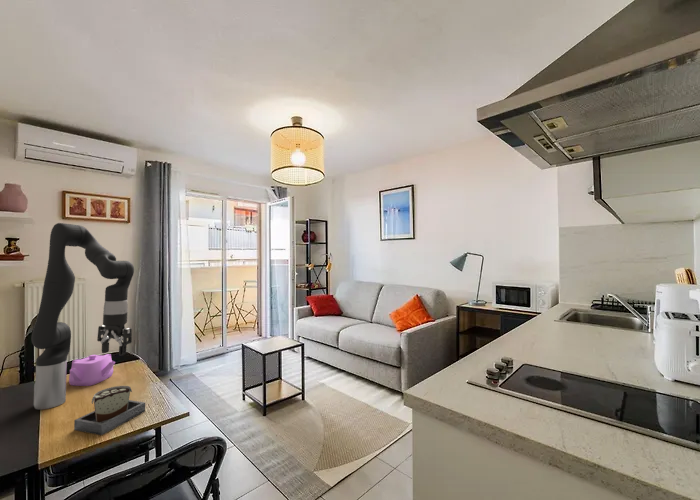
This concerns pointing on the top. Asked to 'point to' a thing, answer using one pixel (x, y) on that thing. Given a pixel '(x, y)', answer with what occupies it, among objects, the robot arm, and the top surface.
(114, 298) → the robot arm
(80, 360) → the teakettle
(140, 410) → the grey metal tray
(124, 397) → the grey speckled half-round piece
